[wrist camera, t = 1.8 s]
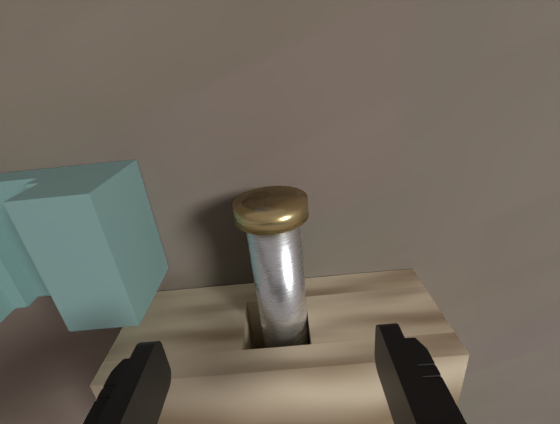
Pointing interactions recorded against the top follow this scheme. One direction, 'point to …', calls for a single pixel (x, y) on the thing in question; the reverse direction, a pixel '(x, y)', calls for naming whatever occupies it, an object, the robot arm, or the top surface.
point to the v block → (80, 243)
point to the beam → (287, 351)
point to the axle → (276, 260)
